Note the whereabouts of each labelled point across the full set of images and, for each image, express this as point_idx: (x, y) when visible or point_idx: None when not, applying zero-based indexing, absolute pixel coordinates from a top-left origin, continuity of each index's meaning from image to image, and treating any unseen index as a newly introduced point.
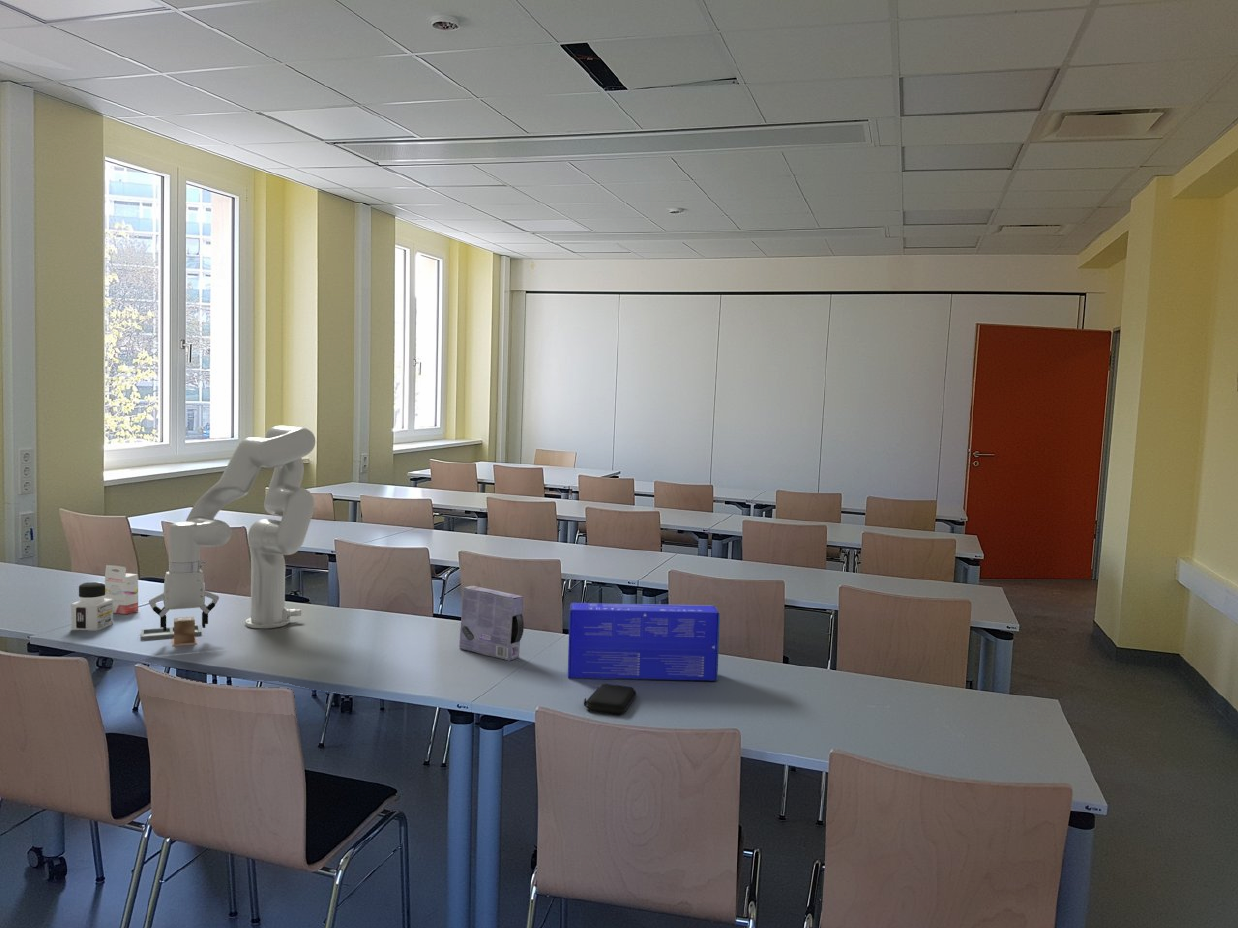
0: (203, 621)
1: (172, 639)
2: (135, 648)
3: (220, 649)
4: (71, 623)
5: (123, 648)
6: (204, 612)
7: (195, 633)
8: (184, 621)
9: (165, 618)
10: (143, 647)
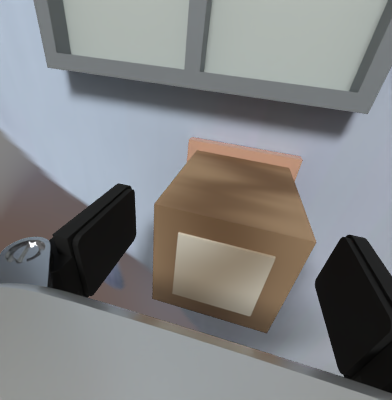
0: (328, 322)
1: (190, 147)
2: (70, 172)
3: (314, 319)
4: None
5: (32, 151)
6: (375, 387)
7: (325, 106)
8: (207, 310)
9: (91, 292)
10: (92, 173)
